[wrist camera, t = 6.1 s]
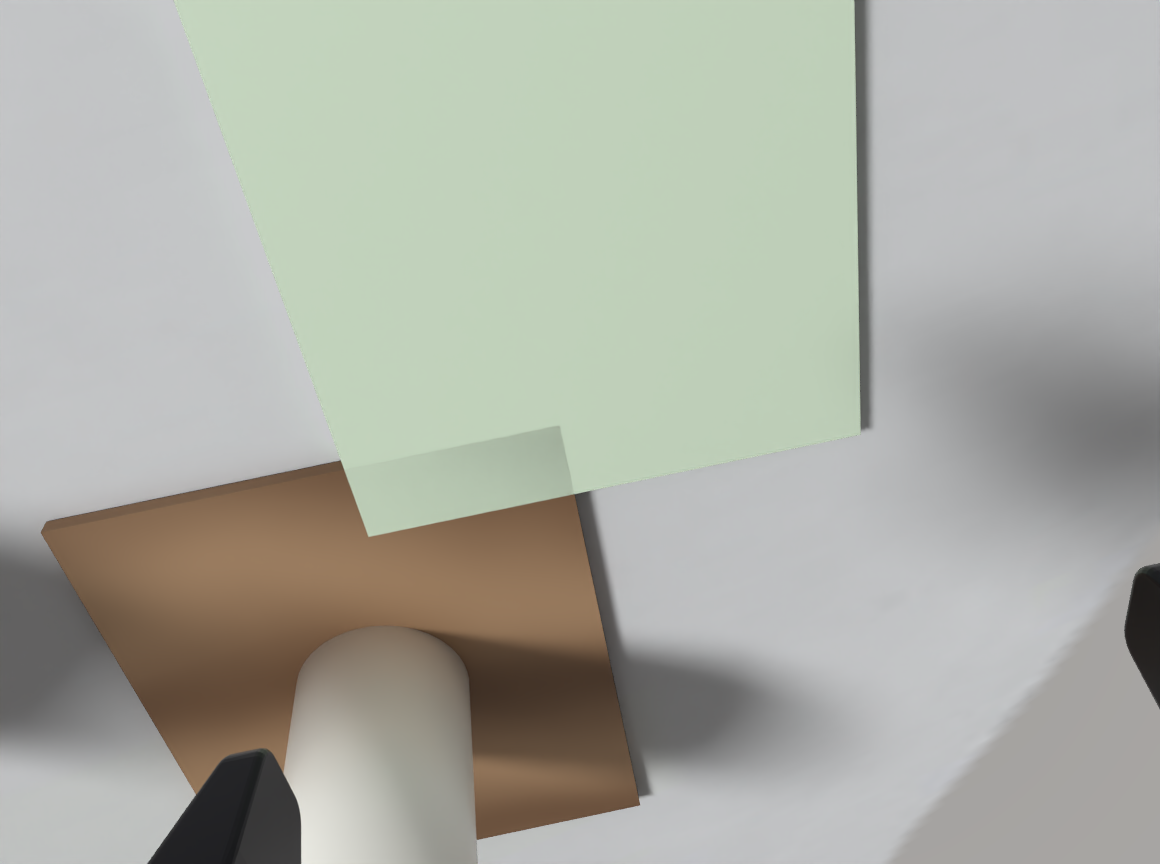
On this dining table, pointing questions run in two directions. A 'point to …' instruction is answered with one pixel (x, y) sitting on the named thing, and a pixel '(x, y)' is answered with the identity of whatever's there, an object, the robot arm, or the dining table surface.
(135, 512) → the walnut mat
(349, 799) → the bottle
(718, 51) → the green mat
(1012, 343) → the dining table surface
